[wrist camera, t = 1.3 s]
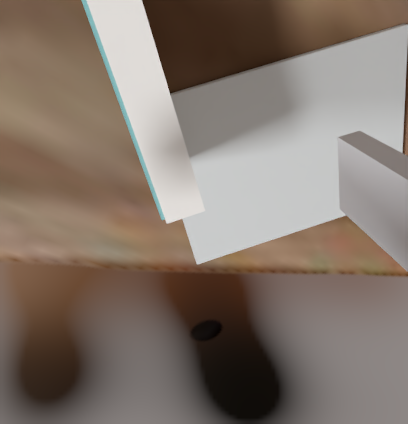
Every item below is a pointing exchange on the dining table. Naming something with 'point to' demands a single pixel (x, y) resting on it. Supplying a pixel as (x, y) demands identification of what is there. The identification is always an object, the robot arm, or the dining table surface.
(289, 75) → the mat
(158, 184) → the tile
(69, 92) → the dining table surface
